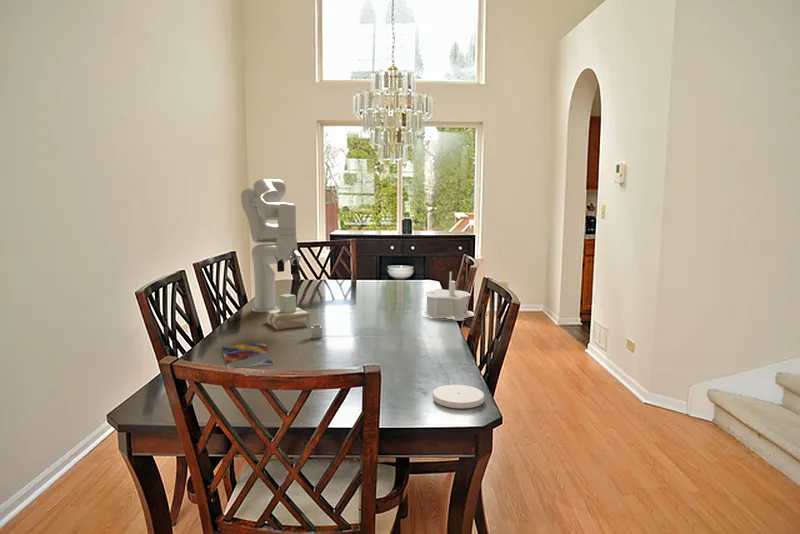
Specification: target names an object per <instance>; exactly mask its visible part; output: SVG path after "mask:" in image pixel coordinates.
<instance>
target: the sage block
mask: <svg viewBox="0 0 800 534" xmlns="http://www.w3.org/2000/svg"><path fill="white" fill-rule="evenodd" d="M278 296H279V297H278V299H279V305H278V306H279V309H280V312H284V313H290V312H295V311H296V307H297V295H296V294H290V293H286V294H280V295H278Z"/></svg>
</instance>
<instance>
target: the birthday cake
mask: <svg viewBox="0 0 800 534" xmlns="http://www.w3.org/2000/svg"><path fill="white" fill-rule="evenodd" d="M452 275H453V272H452V271H449V278H448V279H449V281H448V289H443V288H436V289H433V290H430V291H426V292H424V294H423V295H424V296H425V297H426V310H423V311H421V312H422V315H424V316H427V317H432V318H446V317H451V316H454V317H455V320H456V321H459V322H460V321H461V322H462V321H465V320H466V318H470V317H474V316H475V315H474V313H475V312H473V311H471V310H468V309H469V297H471V295H472V294H471V293H469V292H468V291H465V290H459V289H456V281H455V280H452ZM467 302H468V304H467ZM466 304H467V305H468V306H467V307H468V308H467V309H466ZM465 309H466V314H465V313H464V312H465ZM464 318H465V319H464ZM455 320H454V321H455Z"/></svg>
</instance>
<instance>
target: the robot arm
mask: <svg viewBox="0 0 800 534" xmlns="http://www.w3.org/2000/svg"><path fill="white" fill-rule="evenodd" d="M286 191H287V190H286V185H285V182H284V181H283V180H281V179H278V178H275V179H274V178H260V179H257V180H256V181H255V182H254V183H253V187H247V188H245V189H243V190H242V191H241V193H240V201H241V202H240V203H241V206H242V209H243V212H244V213H245V215H246V218H247V220H248V224H249V226H248V227H249V230H250V235H251V238H252V241H253V243H255V244H257V245H255V246H253V248H252V249H251V257H252V264H253V275H254V300H253V301H252V304H254V306H253V307H252V308H251V311H252V312H255V313H267V310H275V309H280V306H279V305H276V273H275V271H274V269H273V268H272V267H271V266H270V265H276V264H277V265H276V266H277V268H276V269H277V270H276V271H277V272H278V273H280V272H281V273H282V272H285V264H286V263H287V262H290V264H291V265H290V275H298V272H299V269H298V267H299V263H300V262H301V261H300V259H301V257H302V255H301V254H300V253H299V252H298V241H297V222H296V221H297V213H296V211H297V210H296V205H295V204H294V203H290V202H280V201H281V200H282V199H283V198H284V196H285V194H286ZM268 221H277V223H268Z"/></svg>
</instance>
